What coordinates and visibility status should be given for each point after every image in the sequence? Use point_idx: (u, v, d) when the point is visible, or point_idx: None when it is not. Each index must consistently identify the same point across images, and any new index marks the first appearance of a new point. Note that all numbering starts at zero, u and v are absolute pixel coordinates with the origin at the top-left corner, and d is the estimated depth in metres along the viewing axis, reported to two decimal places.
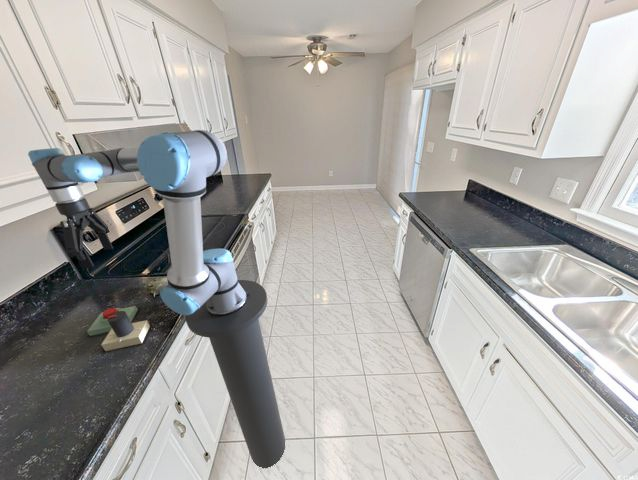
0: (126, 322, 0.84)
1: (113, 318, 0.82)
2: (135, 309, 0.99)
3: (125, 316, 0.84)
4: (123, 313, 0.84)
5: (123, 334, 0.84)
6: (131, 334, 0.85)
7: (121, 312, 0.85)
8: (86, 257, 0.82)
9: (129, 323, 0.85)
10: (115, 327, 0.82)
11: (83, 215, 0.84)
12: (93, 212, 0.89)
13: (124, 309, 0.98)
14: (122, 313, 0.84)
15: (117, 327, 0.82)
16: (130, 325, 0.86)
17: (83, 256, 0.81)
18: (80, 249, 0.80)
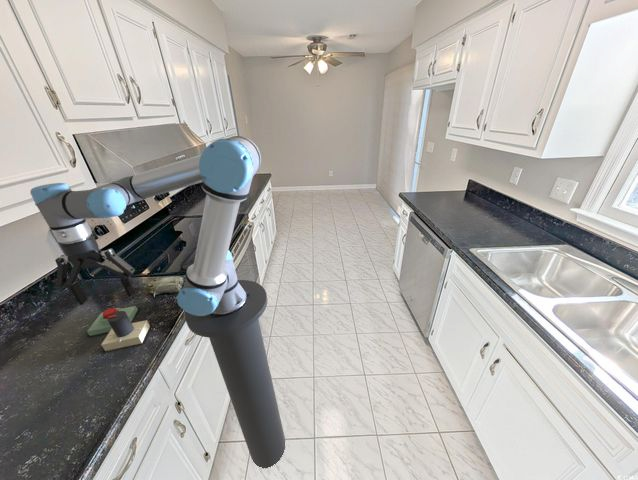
0: (126, 322, 0.84)
1: (113, 318, 0.82)
2: (135, 309, 0.99)
3: (125, 316, 0.84)
4: (123, 313, 0.84)
5: (123, 334, 0.84)
6: (131, 334, 0.85)
7: (121, 312, 0.85)
8: None
9: (129, 323, 0.85)
10: (115, 327, 0.82)
11: None
12: None
13: (124, 309, 0.98)
14: (122, 313, 0.84)
15: (117, 327, 0.82)
16: (130, 325, 0.86)
17: None
18: None
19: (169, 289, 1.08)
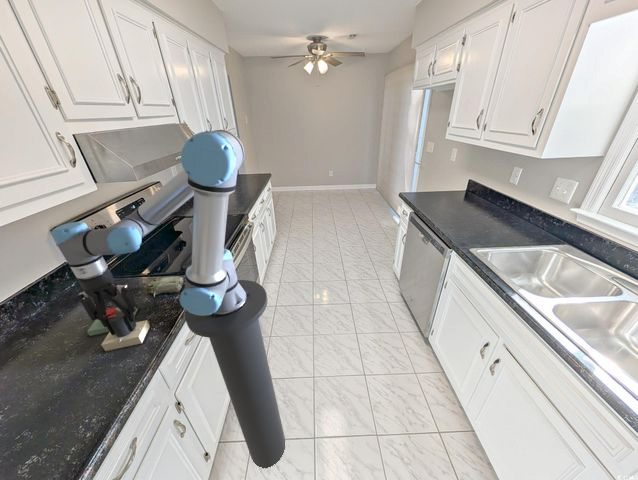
0: None
1: (113, 318, 0.82)
2: None
3: None
4: (123, 313, 0.84)
5: (123, 334, 0.84)
6: (131, 334, 0.85)
7: (121, 312, 0.85)
8: None
9: None
10: (115, 327, 0.82)
11: None
12: None
13: None
14: (122, 313, 0.84)
15: (117, 327, 0.82)
16: None
17: None
18: None
19: (169, 289, 1.08)
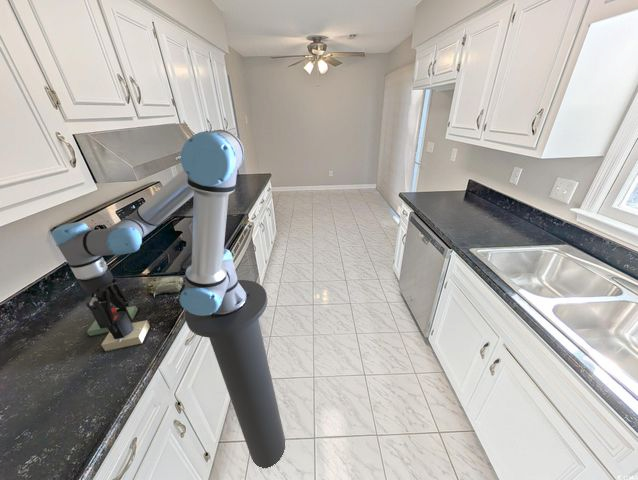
0: None
1: (119, 316, 0.83)
2: (135, 309, 0.99)
3: None
4: (116, 313, 0.84)
5: (132, 326, 0.87)
6: (131, 334, 0.85)
7: None
8: None
9: None
10: (128, 320, 0.85)
11: None
12: None
13: None
14: (115, 313, 0.84)
15: (128, 320, 0.85)
16: None
17: None
18: None
19: (169, 289, 1.08)
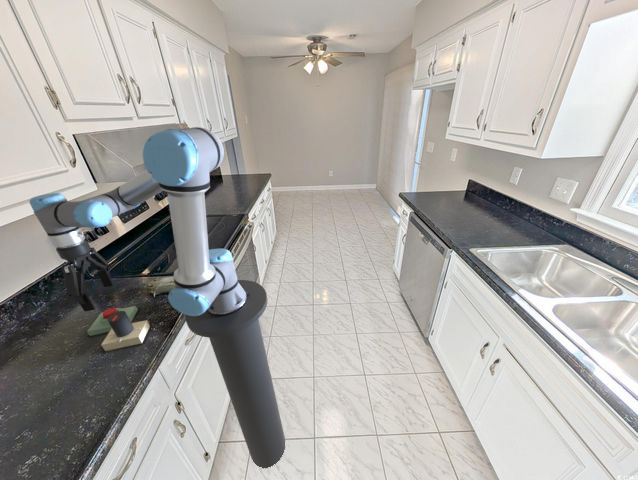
0: None
1: (119, 316, 0.83)
2: (135, 309, 0.99)
3: None
4: (116, 313, 0.84)
5: (132, 326, 0.87)
6: (131, 334, 0.85)
7: (112, 315, 0.84)
8: None
9: None
10: (128, 320, 0.85)
11: None
12: None
13: (124, 309, 0.98)
14: (115, 313, 0.84)
15: (128, 320, 0.85)
16: None
17: None
18: None
19: (169, 289, 1.08)
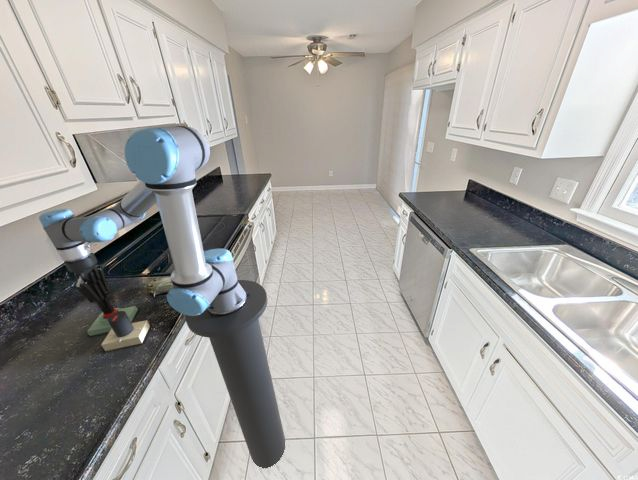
0: None
1: (119, 316, 0.83)
2: (135, 309, 0.99)
3: None
4: (116, 313, 0.84)
5: (132, 326, 0.87)
6: (131, 334, 0.85)
7: (112, 315, 0.84)
8: None
9: None
10: (128, 320, 0.85)
11: None
12: None
13: (124, 309, 0.98)
14: (115, 313, 0.84)
15: (128, 320, 0.85)
16: None
17: None
18: None
19: (169, 289, 1.08)
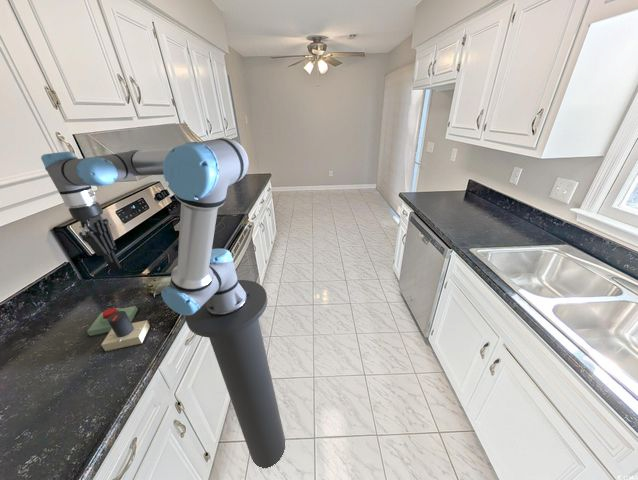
0: None
1: (119, 316, 0.83)
2: (135, 309, 0.99)
3: None
4: (116, 313, 0.84)
5: (132, 326, 0.87)
6: (131, 334, 0.85)
7: (112, 315, 0.84)
8: None
9: None
10: (128, 320, 0.85)
11: None
12: None
13: (124, 309, 0.98)
14: (115, 313, 0.84)
15: (128, 320, 0.85)
16: None
17: None
18: None
19: None
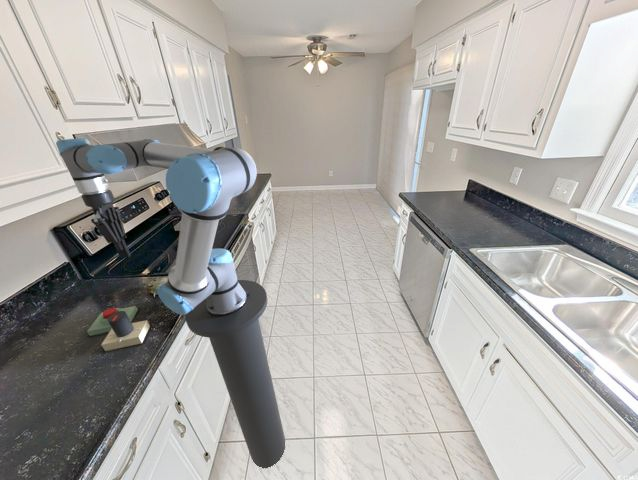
0: None
1: (119, 316, 0.83)
2: (135, 309, 0.99)
3: None
4: (116, 313, 0.84)
5: (132, 326, 0.87)
6: (131, 334, 0.85)
7: (112, 315, 0.84)
8: None
9: None
10: (128, 320, 0.85)
11: None
12: None
13: (124, 309, 0.98)
14: (115, 313, 0.84)
15: (128, 320, 0.85)
16: None
17: None
18: None
19: None
